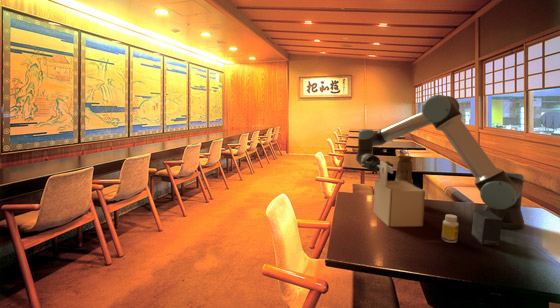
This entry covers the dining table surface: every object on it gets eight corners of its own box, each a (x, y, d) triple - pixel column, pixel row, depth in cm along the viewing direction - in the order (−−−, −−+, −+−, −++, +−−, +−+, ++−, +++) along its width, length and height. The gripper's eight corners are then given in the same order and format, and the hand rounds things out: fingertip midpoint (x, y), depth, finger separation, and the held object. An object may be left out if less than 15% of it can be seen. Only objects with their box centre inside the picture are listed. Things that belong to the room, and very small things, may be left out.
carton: (403, 212, 156) (405, 180, 154) (422, 227, 137) (425, 191, 135) (375, 212, 156) (376, 180, 154) (390, 227, 136) (392, 191, 134)
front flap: (374, 211, 156) (377, 159, 152) (389, 226, 136) (392, 166, 133) (373, 211, 156) (376, 159, 152) (388, 226, 136) (391, 166, 133)
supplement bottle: (456, 244, 119) (458, 219, 118) (440, 241, 122) (442, 216, 121) (457, 239, 124) (459, 215, 123) (442, 236, 127) (443, 212, 126)
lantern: (384, 200, 178) (387, 146, 174) (398, 198, 183) (401, 145, 179) (406, 207, 165) (409, 149, 161) (420, 205, 169) (423, 148, 165)
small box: (500, 246, 118) (503, 219, 116) (481, 245, 119) (483, 218, 117) (488, 235, 128) (490, 210, 126) (470, 234, 129) (472, 209, 128)
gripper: (386, 169, 161) (405, 178, 138) (354, 169, 161) (368, 179, 138) (387, 154, 160) (406, 161, 137) (354, 154, 160) (369, 162, 137)
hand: (387, 170), depth 138 cm, fingers open, 3 cm apart
